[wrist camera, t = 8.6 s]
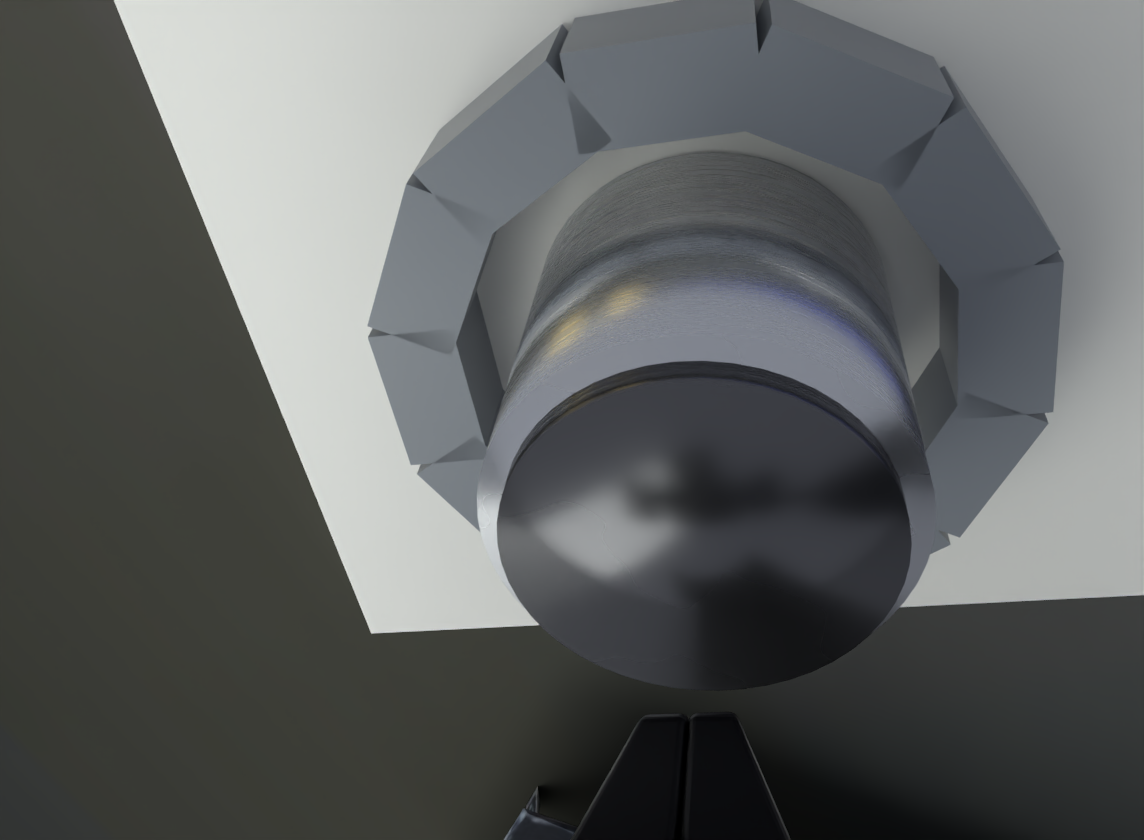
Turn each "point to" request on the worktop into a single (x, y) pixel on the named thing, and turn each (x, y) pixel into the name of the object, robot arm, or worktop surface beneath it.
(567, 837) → the vintage camera
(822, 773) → the worktop surface
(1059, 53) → the barrel plate
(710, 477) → the metal cylinder
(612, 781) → the robot arm
